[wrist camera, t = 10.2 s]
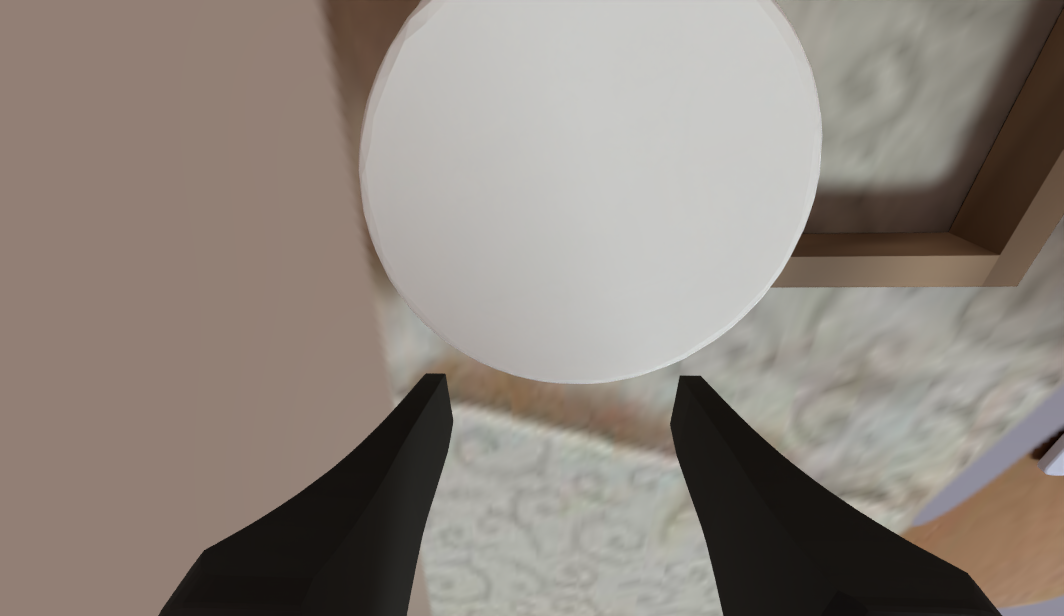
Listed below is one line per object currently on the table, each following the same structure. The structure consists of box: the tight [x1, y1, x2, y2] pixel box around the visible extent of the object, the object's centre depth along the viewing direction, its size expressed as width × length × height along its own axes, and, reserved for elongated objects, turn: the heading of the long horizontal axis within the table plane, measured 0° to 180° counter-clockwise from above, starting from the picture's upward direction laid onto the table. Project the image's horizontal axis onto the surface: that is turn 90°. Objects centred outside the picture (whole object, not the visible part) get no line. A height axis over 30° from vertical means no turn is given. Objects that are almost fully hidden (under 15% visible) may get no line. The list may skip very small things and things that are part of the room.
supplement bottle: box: [359, 0, 822, 384], centre depth 8 cm, size 5×5×10 cm
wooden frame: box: [771, 8, 1064, 287], centre depth 11 cm, size 10×10×2 cm
